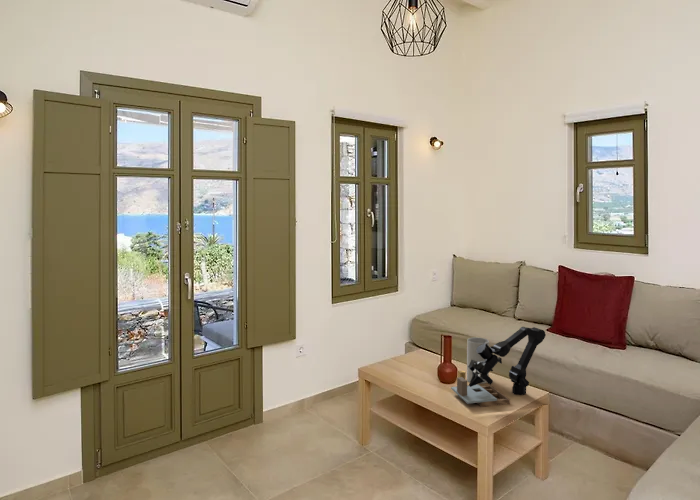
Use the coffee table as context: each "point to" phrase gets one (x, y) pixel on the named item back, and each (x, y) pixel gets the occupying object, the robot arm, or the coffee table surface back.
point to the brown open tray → (500, 397)
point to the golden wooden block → (462, 374)
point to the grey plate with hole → (472, 392)
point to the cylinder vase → (474, 354)
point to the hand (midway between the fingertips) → (469, 386)
